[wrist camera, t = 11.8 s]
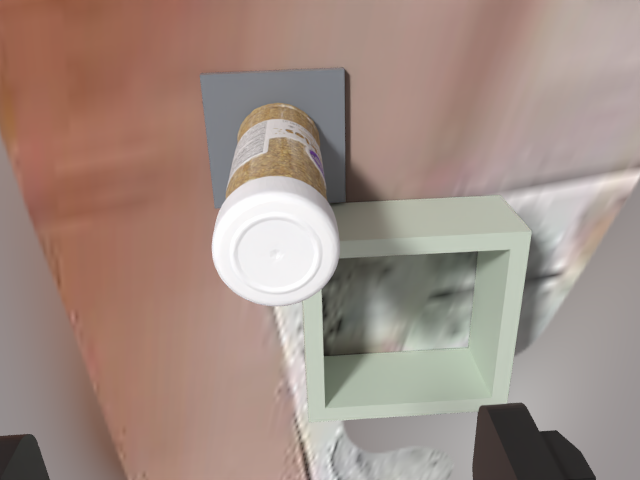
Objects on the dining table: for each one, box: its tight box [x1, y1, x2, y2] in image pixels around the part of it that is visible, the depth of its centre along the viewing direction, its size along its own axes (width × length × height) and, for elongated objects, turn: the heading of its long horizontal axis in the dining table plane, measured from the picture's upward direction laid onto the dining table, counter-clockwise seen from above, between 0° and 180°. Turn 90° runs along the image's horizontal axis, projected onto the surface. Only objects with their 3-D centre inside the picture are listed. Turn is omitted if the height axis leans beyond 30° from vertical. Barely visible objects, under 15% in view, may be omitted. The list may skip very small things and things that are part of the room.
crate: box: [302, 195, 532, 422], centre depth 36 cm, size 12×12×5 cm
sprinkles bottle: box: [212, 103, 340, 306], centre depth 27 cm, size 5×5×13 cm
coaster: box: [200, 68, 346, 208], centre depth 33 cm, size 8×8×1 cm
